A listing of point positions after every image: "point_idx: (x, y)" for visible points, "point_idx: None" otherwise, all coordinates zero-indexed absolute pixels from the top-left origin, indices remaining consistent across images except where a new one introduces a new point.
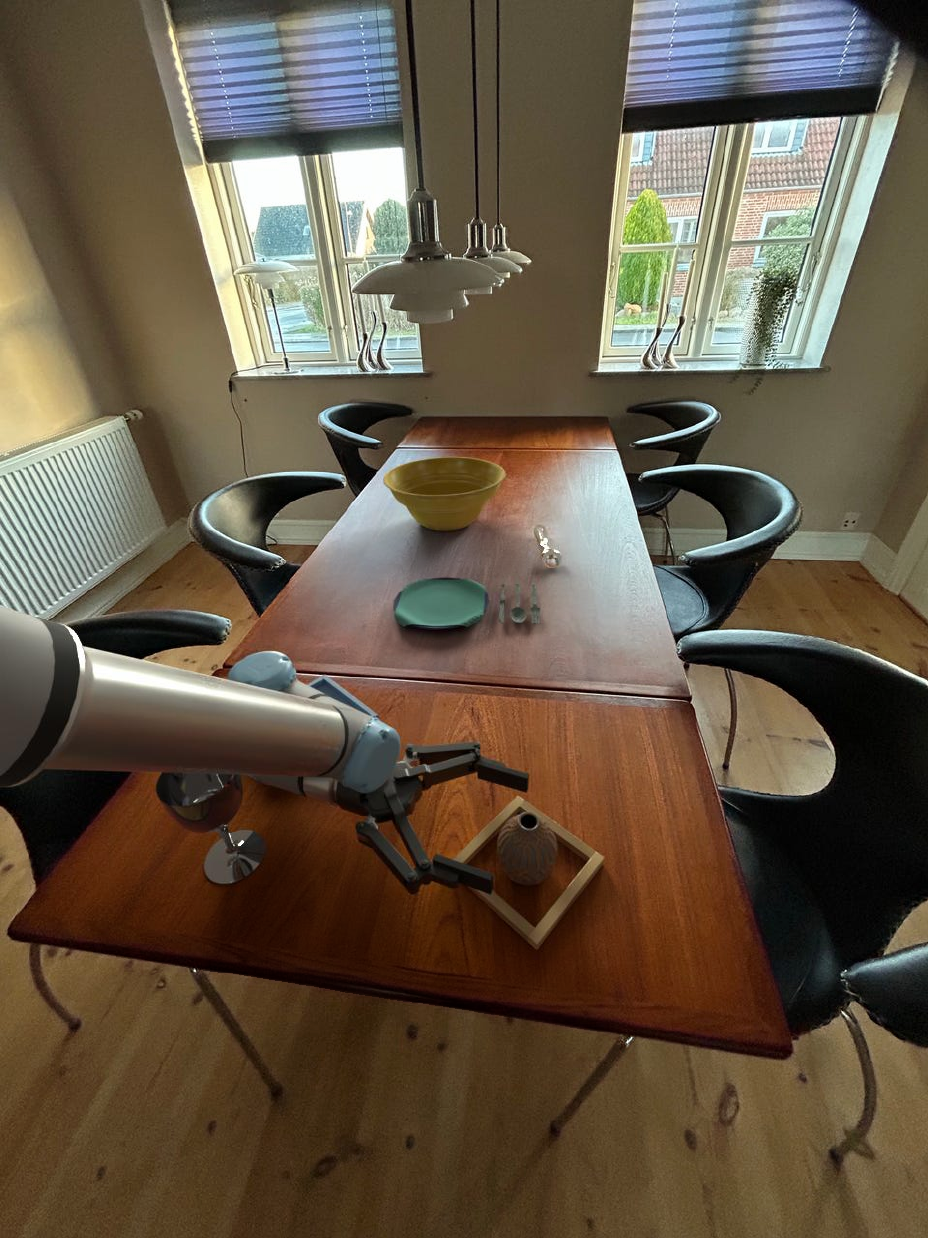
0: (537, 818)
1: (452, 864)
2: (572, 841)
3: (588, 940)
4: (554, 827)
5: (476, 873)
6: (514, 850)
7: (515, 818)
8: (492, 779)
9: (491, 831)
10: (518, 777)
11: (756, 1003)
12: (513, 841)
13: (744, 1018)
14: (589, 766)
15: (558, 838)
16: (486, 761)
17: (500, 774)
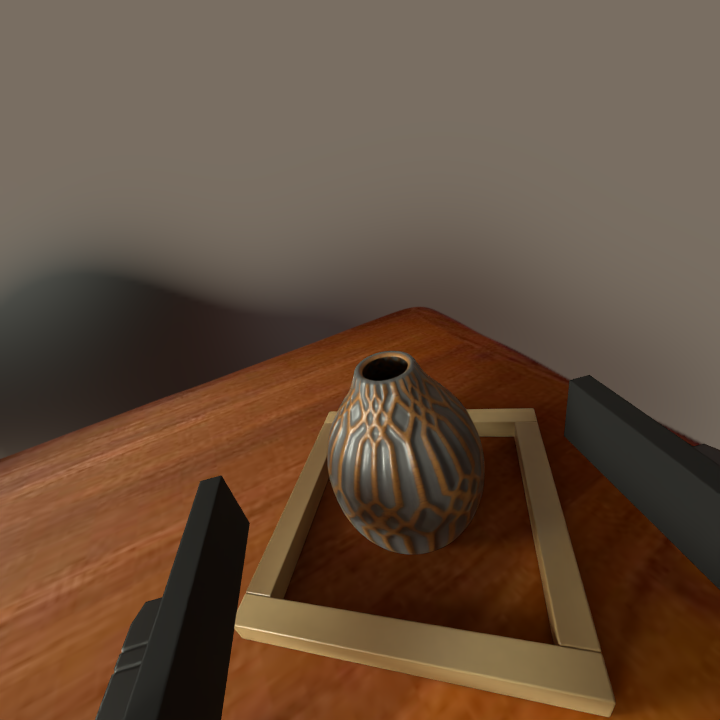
0: (364, 360)
1: (703, 462)
2: (321, 454)
3: (456, 392)
4: (303, 491)
5: (620, 401)
6: (457, 409)
7: (381, 423)
8: (219, 653)
9: (391, 623)
10: (217, 507)
11: (401, 314)
12: (444, 405)
13: (418, 314)
14: (114, 530)
15: (321, 485)
16: (119, 715)
17: (206, 585)
